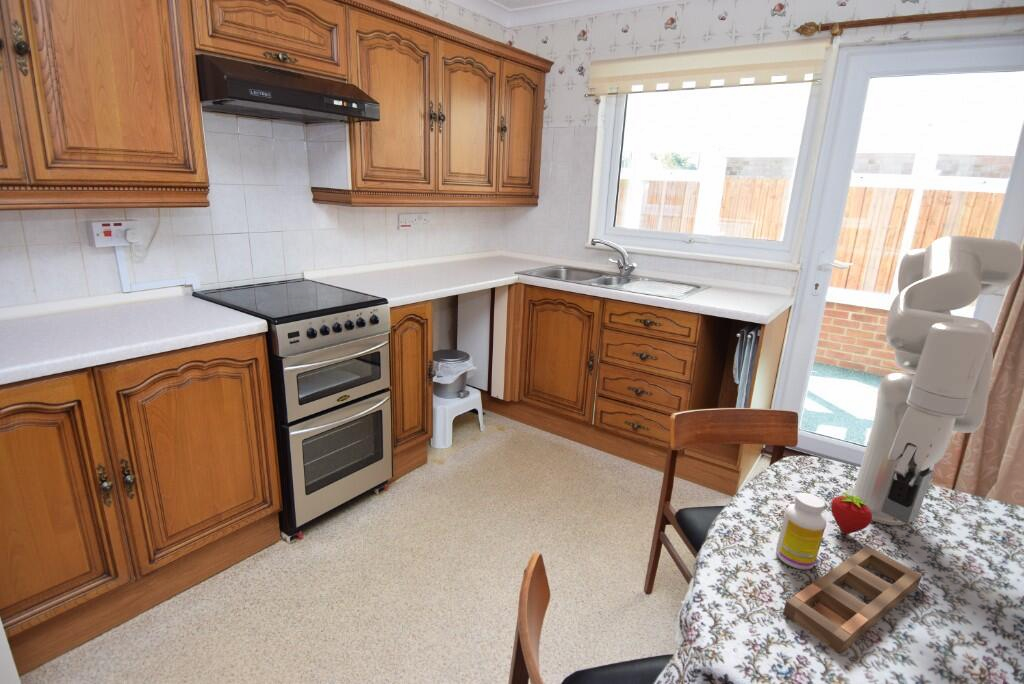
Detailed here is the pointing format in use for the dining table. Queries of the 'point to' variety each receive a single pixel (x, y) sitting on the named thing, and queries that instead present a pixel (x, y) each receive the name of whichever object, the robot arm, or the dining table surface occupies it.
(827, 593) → the rack
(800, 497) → the supplement bottle
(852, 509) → the strawberry
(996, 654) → the dining table surface
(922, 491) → the peg
